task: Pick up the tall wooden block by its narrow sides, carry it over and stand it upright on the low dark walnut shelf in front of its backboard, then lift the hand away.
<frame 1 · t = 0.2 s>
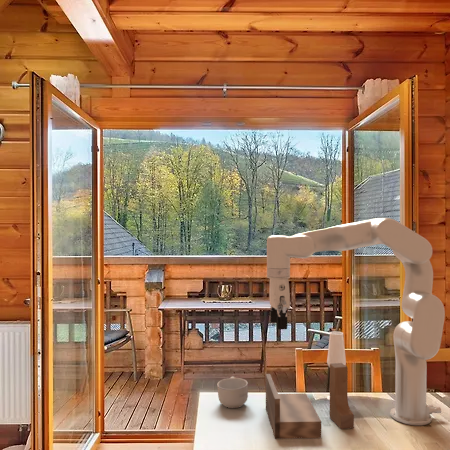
hand: (278, 325, 150), 31 cm above the table, tool pointing down, fingers open, 9 cm apart
walnut shelf: (291, 422, 149), on the table
wooden block: (341, 423, 148), on the table
teacup: (233, 403, 164), on the table
champagne flute: (336, 398, 168), on the table
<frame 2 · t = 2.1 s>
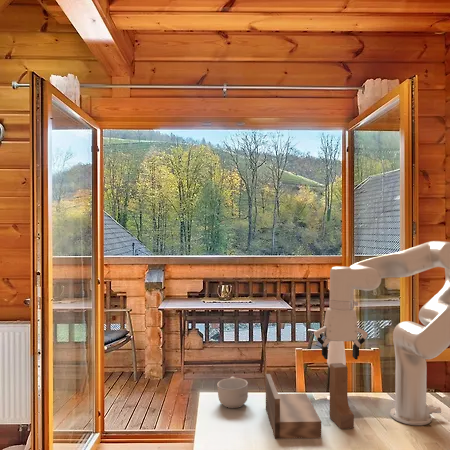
hand: (340, 358, 148), 21 cm above the table, tool pointing down, fingers open, 9 cm apart
nothing on the table moved.
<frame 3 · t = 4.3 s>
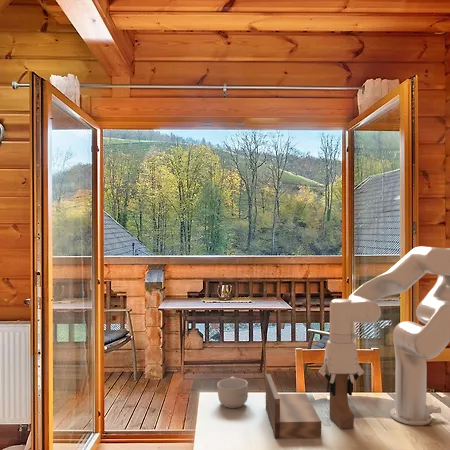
hand: (341, 393, 148), 9 cm above the table, tool pointing down, fingers closed on wooden block, 4 cm apart
wooden block: (341, 423, 148), on the table, touching gripper
everything else where it was.
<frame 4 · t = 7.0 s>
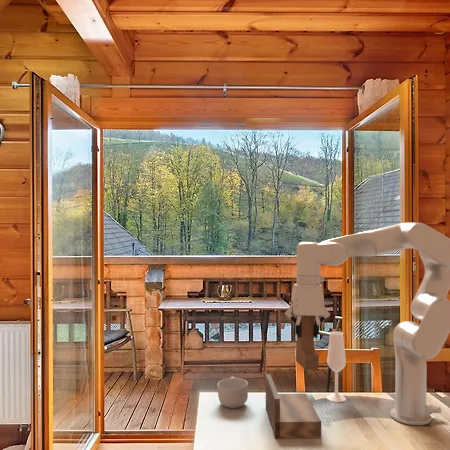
hand: (307, 336, 148), 28 cm above the table, tool pointing down, fingers closed on wooden block, 4 cm apart
wooden block: (306, 365, 148), point 18 cm above the table, touching gripper
everything else where it was.
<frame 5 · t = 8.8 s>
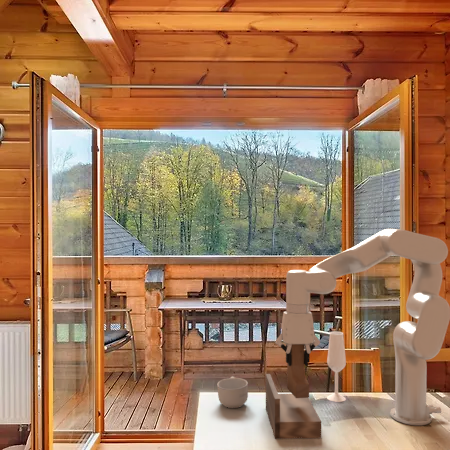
hand: (297, 364, 149), 19 cm above the table, tool pointing down, fingers closed on wooden block, 4 cm apart
wooden block: (297, 393, 149), point 9 cm above the table, touching gripper
everything else where it was.
when the fingers open (16 cm above the table, at t = 10.2 s): wooden block drops 1 cm, resting on walnut shelf.
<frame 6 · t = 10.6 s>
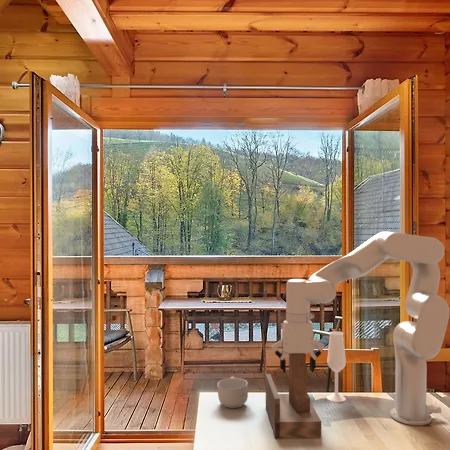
hand: (297, 370, 149), 17 cm above the table, tool pointing down, fingers open, 8 cm apart
wooden block: (299, 407, 149), point 5 cm above the table, touching walnut shelf
everything else where it was.
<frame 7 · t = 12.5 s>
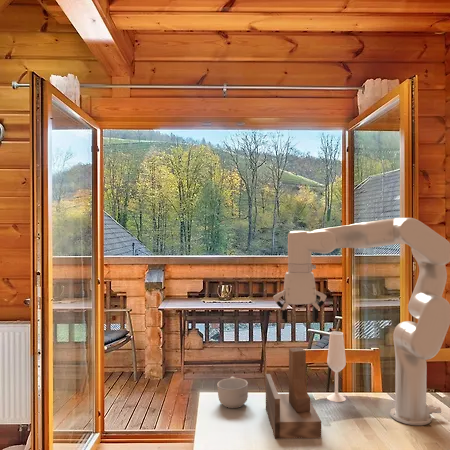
hand: (300, 321, 149), 32 cm above the table, tool pointing down, fingers open, 9 cm apart
nothing on the table moved.
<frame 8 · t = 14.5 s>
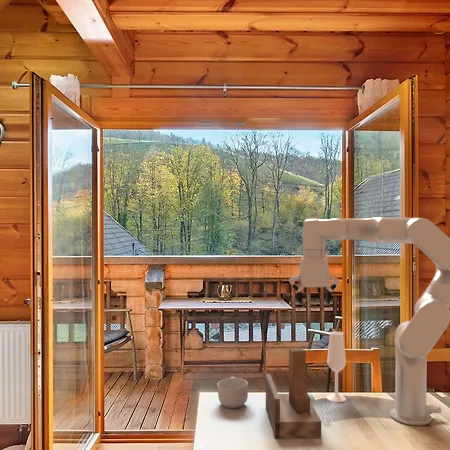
hand: (314, 303, 161), 36 cm above the table, tool pointing down, fingers open, 9 cm apart
nothing on the table moved.
at the end: wooden block inside the target area on the walnut shelf (2.0 cm from its centre), point 4.8 cm above the walnut shelf's base; wooden block tilted 0°; the gripper is holding nothing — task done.
